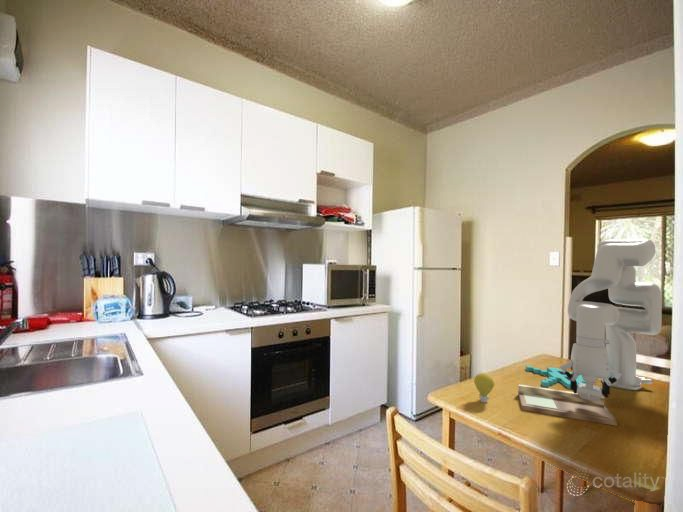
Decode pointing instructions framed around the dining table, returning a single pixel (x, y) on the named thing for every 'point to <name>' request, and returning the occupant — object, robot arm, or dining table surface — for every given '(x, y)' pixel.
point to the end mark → (539, 400)
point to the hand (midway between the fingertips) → (589, 393)
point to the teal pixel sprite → (555, 376)
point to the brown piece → (568, 405)
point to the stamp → (589, 389)
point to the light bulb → (484, 385)
